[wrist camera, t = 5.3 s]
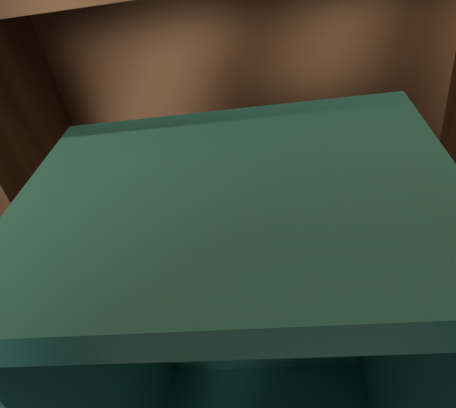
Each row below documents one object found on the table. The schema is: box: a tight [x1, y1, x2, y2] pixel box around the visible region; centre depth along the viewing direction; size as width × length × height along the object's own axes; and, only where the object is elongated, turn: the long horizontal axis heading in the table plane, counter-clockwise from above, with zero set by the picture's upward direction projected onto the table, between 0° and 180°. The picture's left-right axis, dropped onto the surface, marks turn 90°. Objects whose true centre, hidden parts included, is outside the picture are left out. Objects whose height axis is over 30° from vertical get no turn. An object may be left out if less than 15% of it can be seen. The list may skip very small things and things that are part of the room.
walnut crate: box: [0, 0, 456, 217], centre depth 15 cm, size 17×13×6 cm
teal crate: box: [0, 91, 456, 408], centre depth 9 cm, size 6×8×5 cm
